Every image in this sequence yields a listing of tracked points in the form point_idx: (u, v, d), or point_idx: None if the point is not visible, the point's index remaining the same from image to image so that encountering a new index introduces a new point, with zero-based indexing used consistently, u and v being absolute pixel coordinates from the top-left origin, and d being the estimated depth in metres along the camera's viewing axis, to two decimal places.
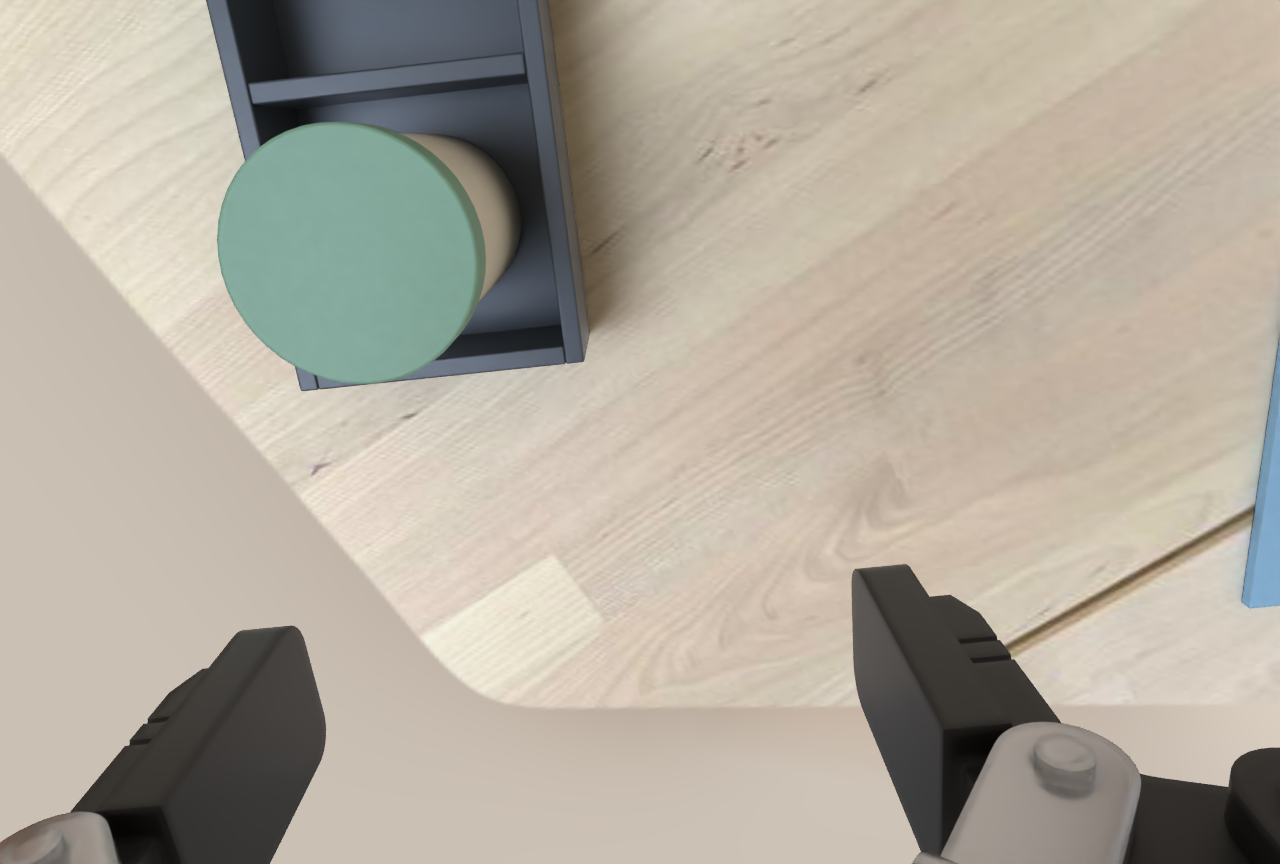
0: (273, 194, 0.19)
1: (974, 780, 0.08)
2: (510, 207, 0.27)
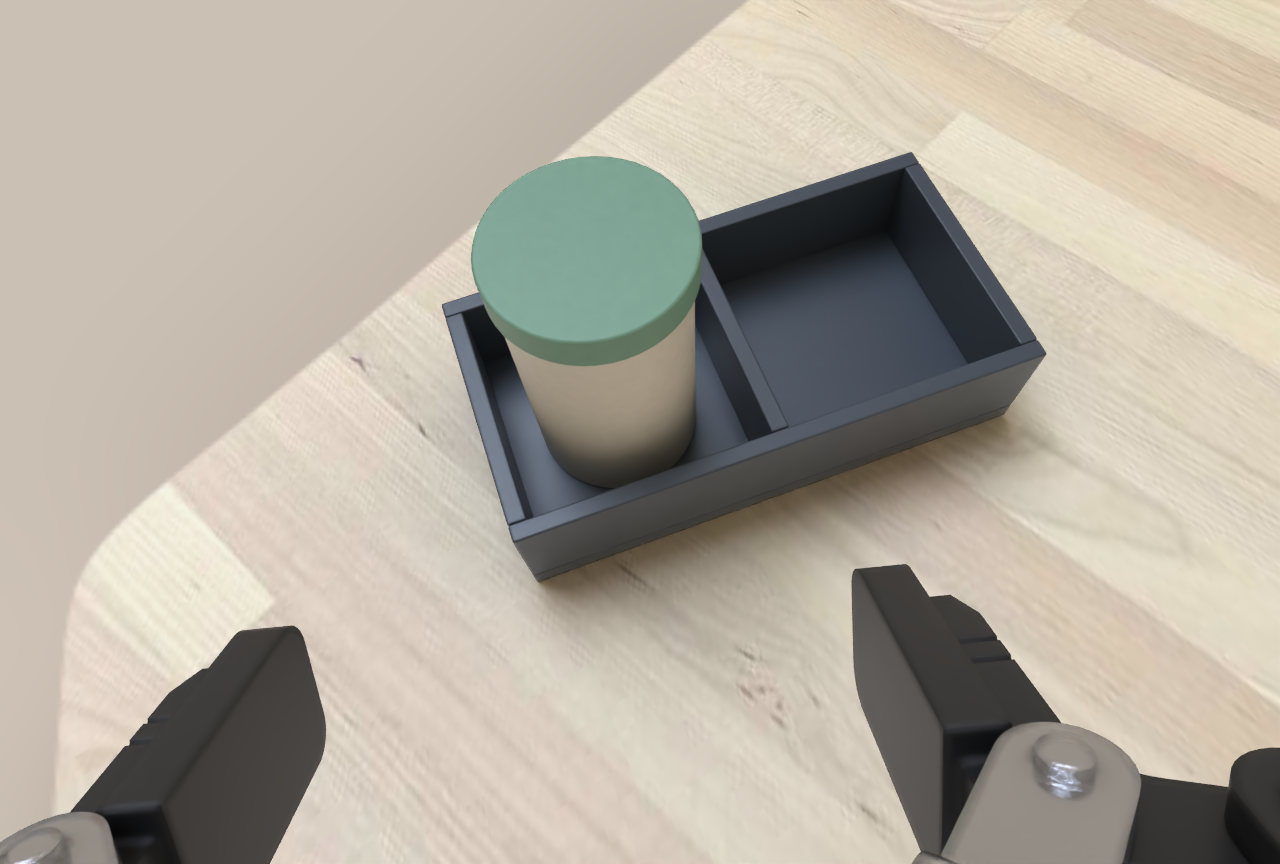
0: (626, 187, 0.23)
1: (974, 780, 0.08)
2: (649, 456, 0.28)
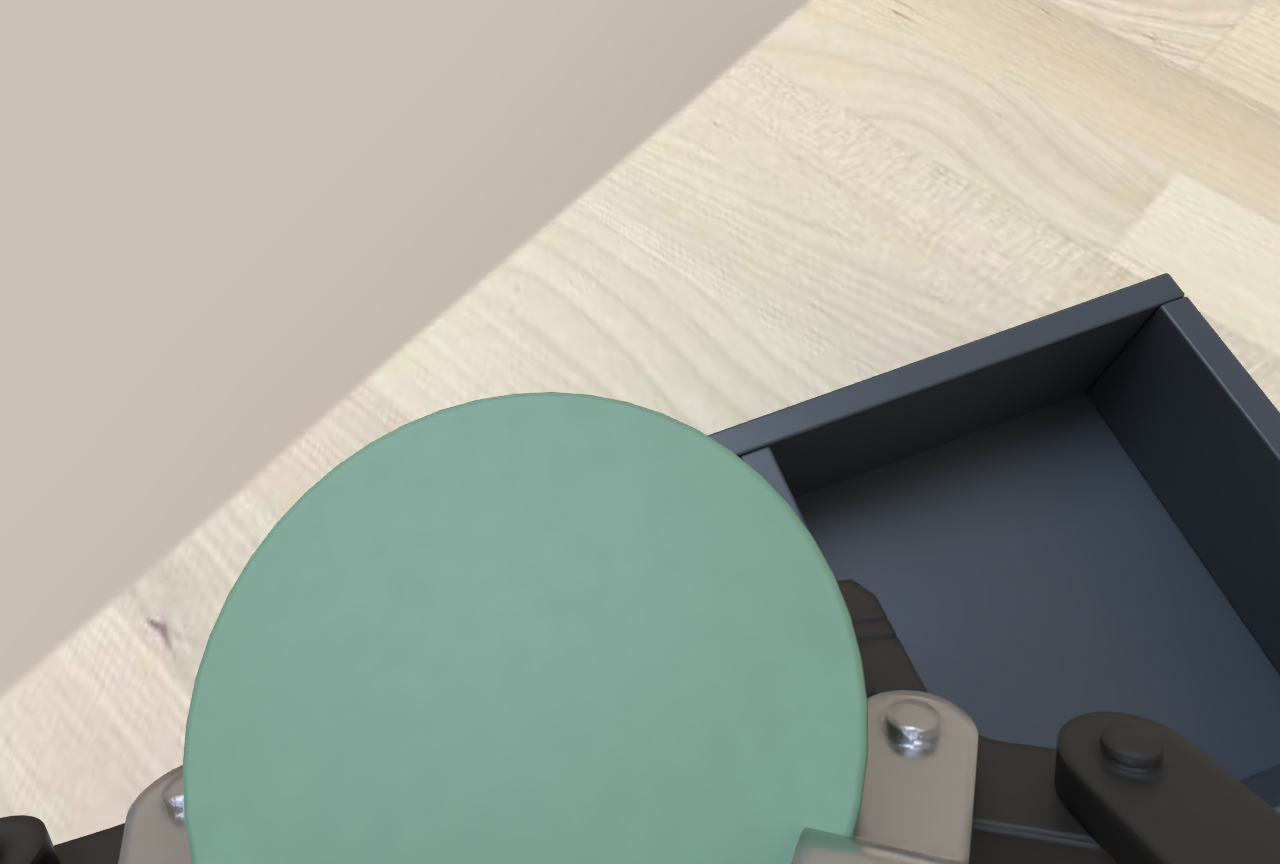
0: (640, 493, 0.08)
1: None
2: None
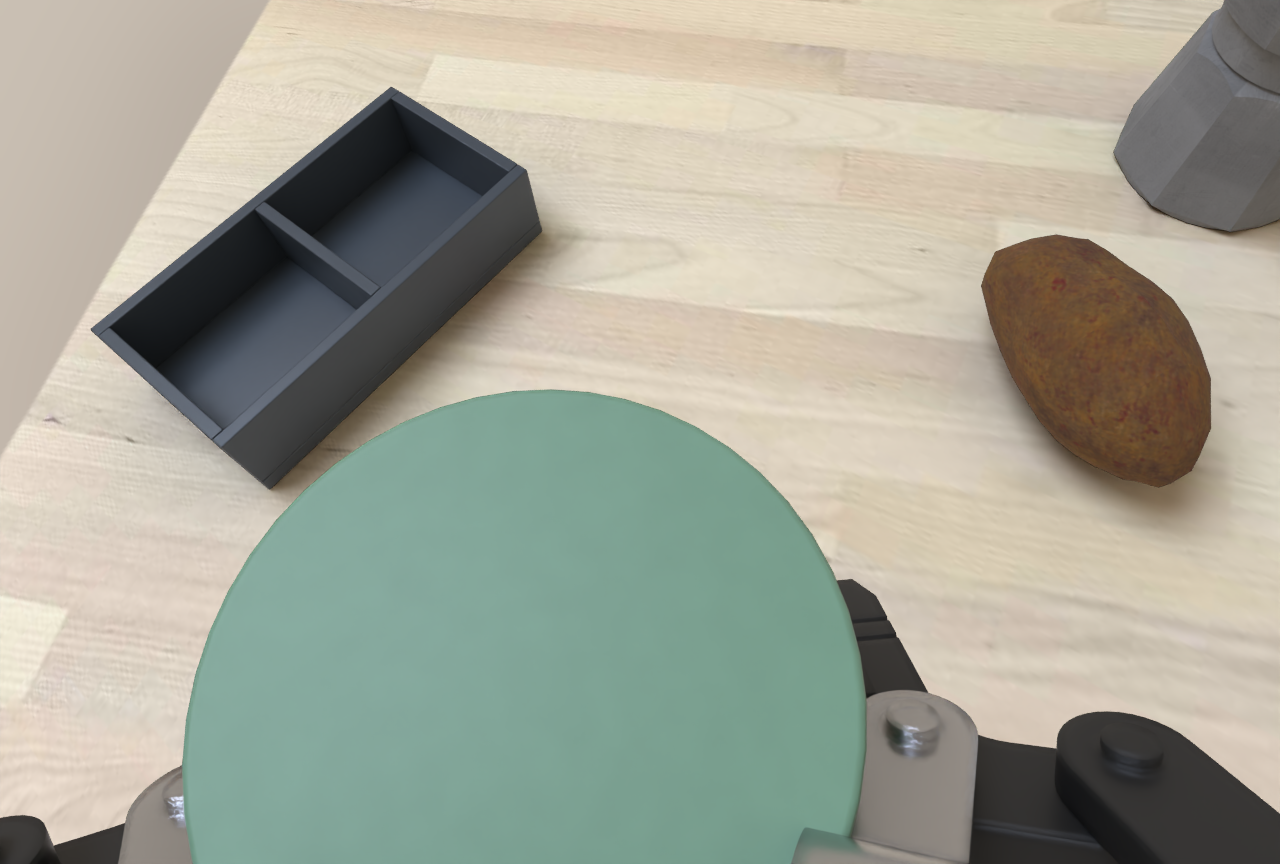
0: (638, 490, 0.08)
1: None
2: None
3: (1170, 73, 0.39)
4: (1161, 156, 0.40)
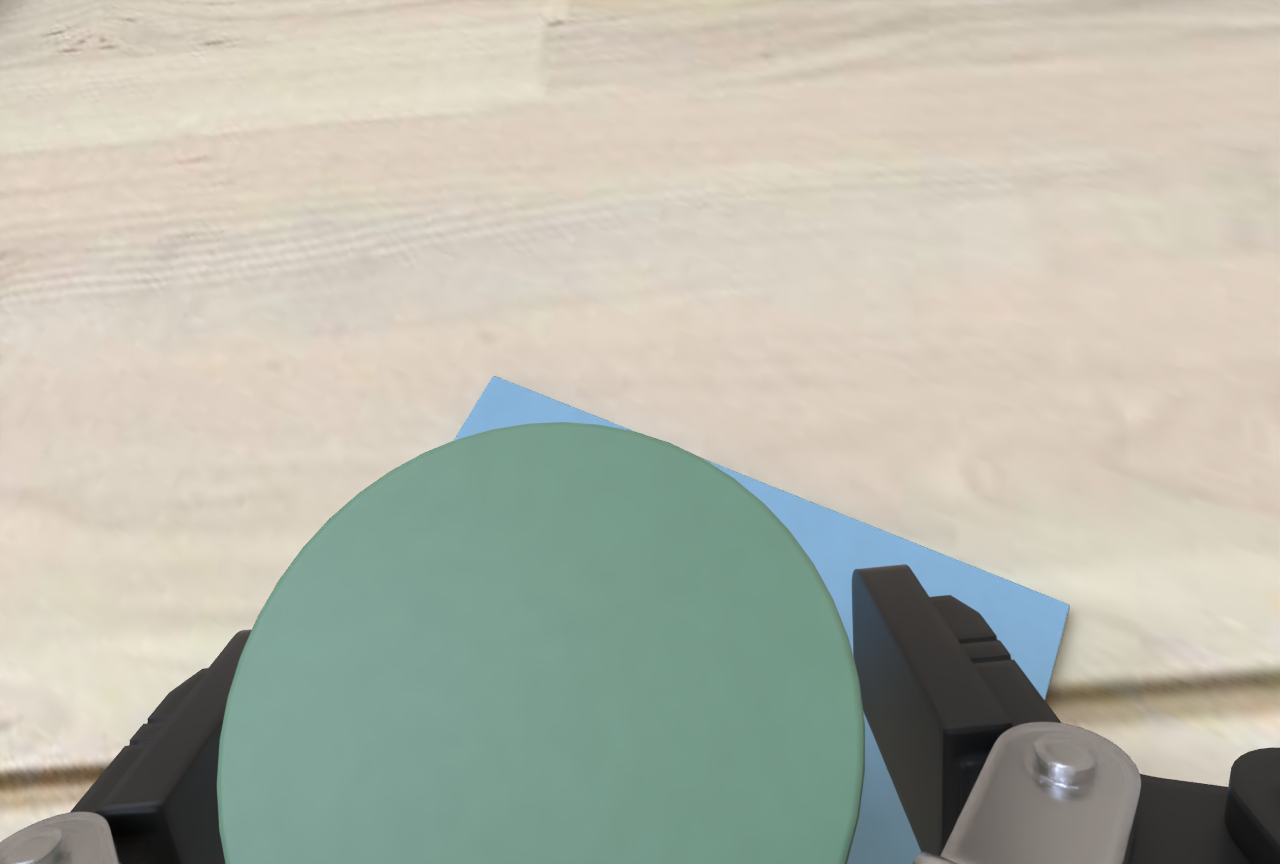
0: (647, 520, 0.09)
1: (974, 780, 0.08)
2: None
3: None
4: None
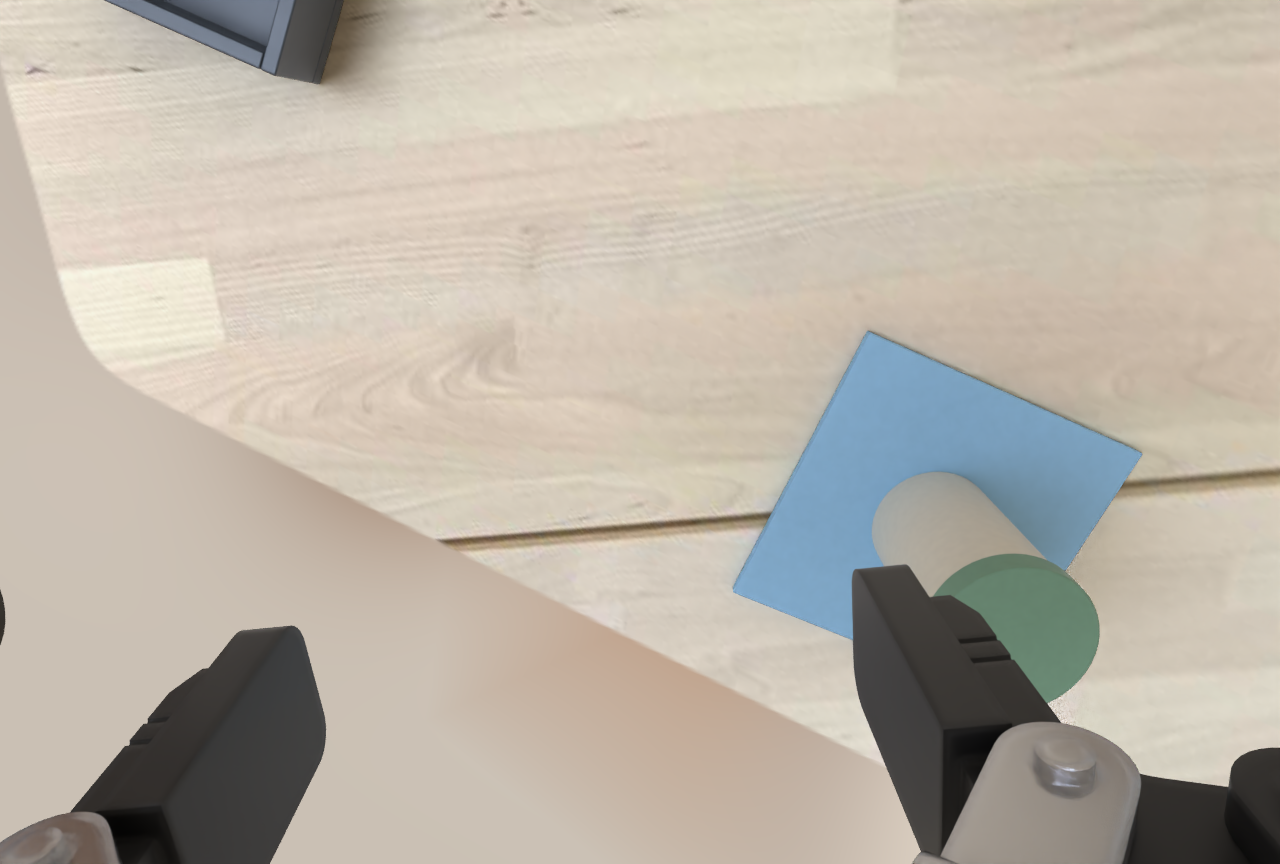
0: (1050, 597, 0.30)
1: (974, 780, 0.08)
2: None
3: None
4: None
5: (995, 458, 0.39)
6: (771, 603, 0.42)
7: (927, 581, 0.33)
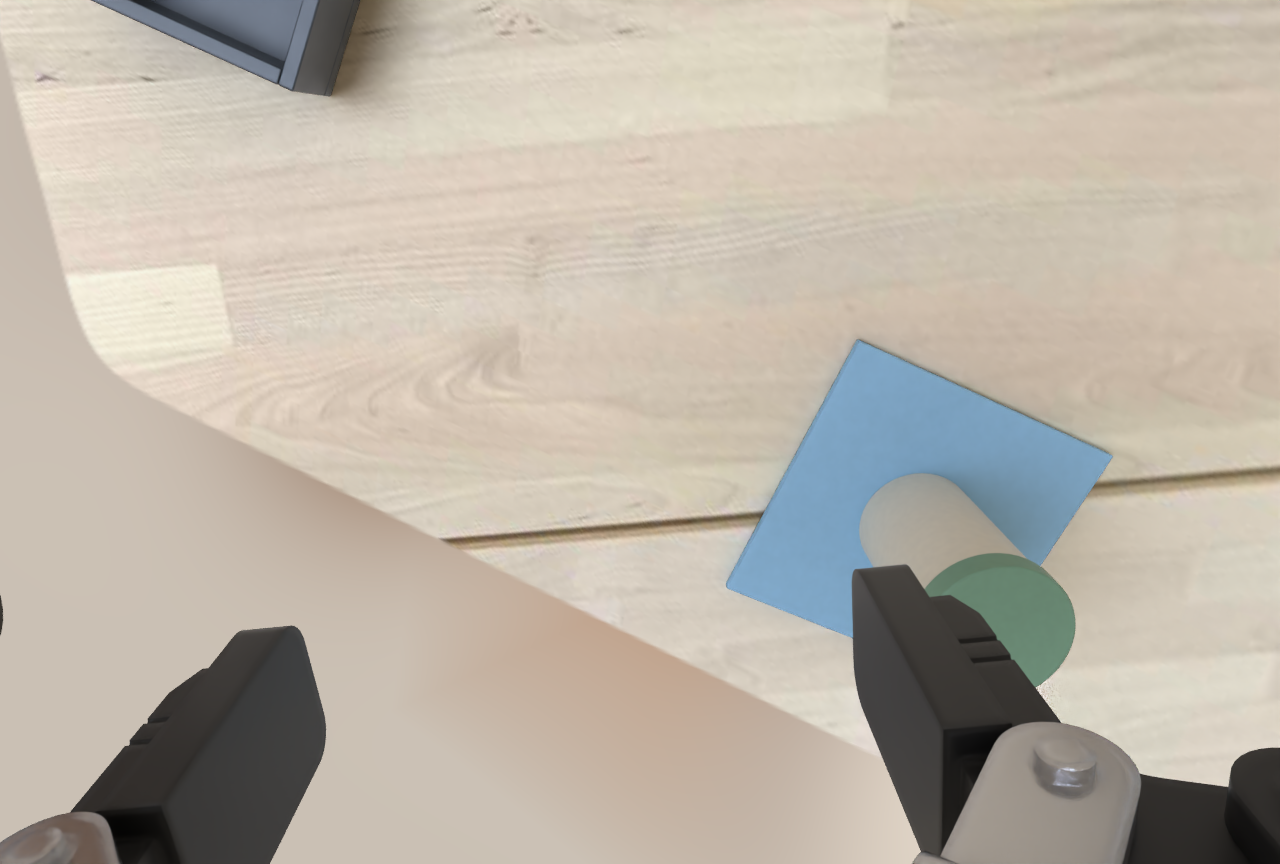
0: (1031, 593, 0.32)
1: (974, 780, 0.08)
2: None
3: None
4: None
5: (976, 460, 0.41)
6: (763, 598, 0.43)
7: None
